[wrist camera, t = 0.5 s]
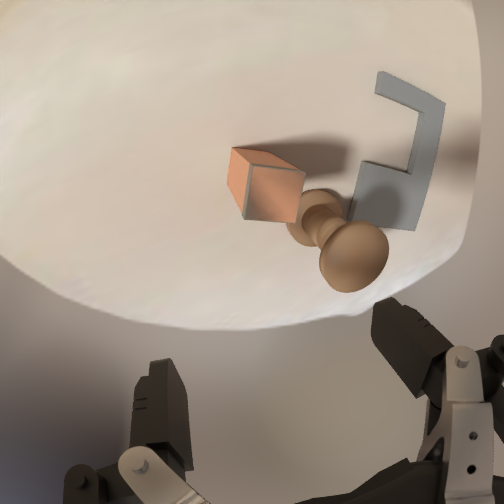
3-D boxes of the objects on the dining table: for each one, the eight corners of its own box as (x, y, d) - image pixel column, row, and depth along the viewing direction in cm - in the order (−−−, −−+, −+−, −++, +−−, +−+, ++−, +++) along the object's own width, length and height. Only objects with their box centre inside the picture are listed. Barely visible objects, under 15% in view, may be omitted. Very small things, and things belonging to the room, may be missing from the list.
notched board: (377, 71, 28) (383, 71, 27) (440, 102, 31) (445, 103, 30) (346, 220, 36) (351, 223, 35) (410, 228, 39) (414, 231, 38)
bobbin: (292, 185, 33) (336, 221, 23) (343, 193, 34) (397, 228, 25) (281, 240, 36) (315, 293, 26) (330, 243, 37) (375, 291, 28)
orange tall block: (231, 147, 29) (252, 165, 20) (268, 151, 30) (306, 172, 21) (226, 183, 31) (244, 219, 22) (262, 187, 32) (295, 223, 23)
